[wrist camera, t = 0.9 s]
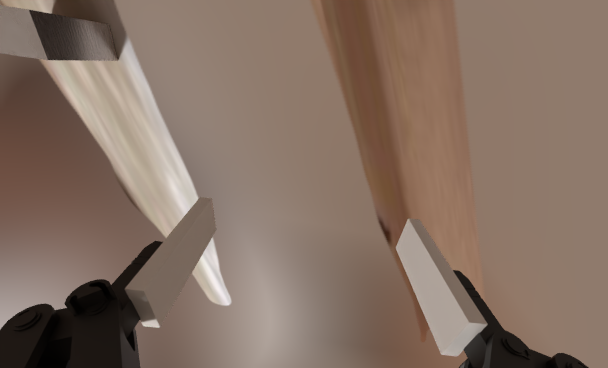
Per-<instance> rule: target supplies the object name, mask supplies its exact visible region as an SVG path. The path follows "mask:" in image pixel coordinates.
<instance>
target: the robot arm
mask: <svg viewBox="0 0 608 368" xmlns="http://www.w3.org/2000/svg"><path fill="white" fill-rule="evenodd" d="M215 231H216V225H215V218H214V210H213V203H212V199H211V198H203V197H200V198H199V199H198V201H197V202H196V203H195V204H194V205H193V207H192V208H191V209H190V210H189V211H188V213H187V214H186V215H185V216H184V218H183V219H182V220H181V221H180V222H179V224H178V225H177V226H176V227H175V228H174V230H173V231H172V232H171V233H170V234H169V236H168V237H167V238H166V239H165V241H164V242H159V241H154V242H153V243H151V244H150V245H148V246H147V247H145V248H144V249H143V250H142V251H141V253H140V254H139V255H138V257H137V258H135V260H133V261H132V263H131V264H130V265H129V266H128V267H127V268H126V269H125V270H124V271H123V273H122V274H121V275H120V276H119V277H118V278H117V279H116V280H115V282H114V283H113V284H112V285H111V284H110V283H109V281H107V280H102V279H101V280H94V281H90V282H88V283H85V284H83V285H81V286H80V287H78V288H77V289H75V290H74V291H73V292H72V293H71V294H70V295H69V296H68V297H67V299H66V302H65V305H66V307H67V308H65V309H59V310H54V308H53V307H52V306H51V305H49V304H38V305H35V306H32V307H29V308H27V309H25V310H23V311H21V312H19V313H17V314H16V315H15V316H13V317H12V318H11V319H10V320H8V321H7V323H6V324H5V325H4V326H3V327H2V328H1V330H0V368H140V361H139V353H138V345H137V337H136V331H135V328H134V327H135V326H136V324H137V323H138V321H139V320H141V322H142V324H143V326H147V327H158V328H160V327H161V325H162V323H163V322H164V320H165V318H166V317H167V315H168V313H169V311H170V310H171V308H172V306H173V304H174V303H175V301H176V299H177V297H178V296H179V294H180V292H181V290H182V289H183V287H184V285H185V283H186V282H187V280H188V278H189V276H190V275H191V273H192V271H193V270H194V268H195V266H196V264H197V263H198V261H199V259H200V257H201V256H202V254H203V252H204V250H205V249H206V247H207V245H208V243H209V242H210V240H211V238H212V236H213V235H214V233H215ZM396 250H397V252H398V254H399V257H400V259H401V261H402V264H403V266H404V268H405V271H406V273H407V275H408V278H409V280H410V283H411V285H412V287H413V290H414V292H415V294H416V297H417V299H418V301H419V304H420V306H421V308H422V311H423V313H424V315H425V318H426V320H427V322H428V325H429V327H430V329H431V332H432V334H433V336H434V339H435V341H436V343H437V346H438V348H439V350H440V352H441V354H442V355H450V356H458V355H459V354H460V353H461V352H462V351H463V350H464V351H465V353H466V355H467V357H468V359H467V360H466V361H465V362H463V363H462V365H460V367H459V368H588V367H587V366H585V365H584V364H583V363H582V362H581V361H579V360H578V359H576V358H574V357H572V356H570V355H567V354H564V353H557V354H556V355H554V356H553V357H552V358H551V357H548V356H546V355H543V354H541V353H538V352H536V351H533V350H530V349H529V348H528V347H527V346H526V345H525V344H524V343H523V342H522V341H521V340H520V339H519V338H517V337H516V336H515V335H514V334H512V333H509V332H508V331H505V330H504V329H503V328H502V326H501V325H500V324H499V322H498V321H497V319H496V318H495V316H494V315H493V314H492V312H491V311H490V309H489V308H488V307H487V305H486V303H485V302H484V301H483V299H481V296H480V295H479V293H478V292H477V291H476V290H475V288H474V286H473V285H472V283H471V282H470V281H469V279H468V278H467V277H466V276H464V275H463V274H462V273H461V272H460V271H456V270H452V269H451V267H450V265H449V264H448V262H447V261H446V259H445V258H444V256H443V255H442V253H441V252H440V250H439V249H438V247H437V246H436V244H435V242H434V241H433V239H432V238H431V236H430V235H429V233H428V232H427V230H426V229H425V227H424V226H423V224H422V222H421V221H420V220H418V219H409V218H408V220H407V223H406V225H405V227H404V230H403V232H402V234H401V237H400V239H399V242H398V244H397V246H396Z"/></svg>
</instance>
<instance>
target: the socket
mask: <svg viewBox="0 0 608 368" xmlns="http://www.w3.org/2000/svg"><path fill="white" fill-rule="evenodd" d="M0 53H4V54H10V55H17V56H23V57H24V56H25V57H30V58H37V59H44V60H99V61H118V59H117V55H116V51H115V47H114V43H113V38H112V34H111V30H110V26H109V24H104V23H99V22H93V21H88V20H82V19H77V18H71V17H66V16H60V15H55V14H49V13H44V12H39V11H33V10H28V9H21V8H15V7H8V6H2V5H0Z"/></svg>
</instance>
